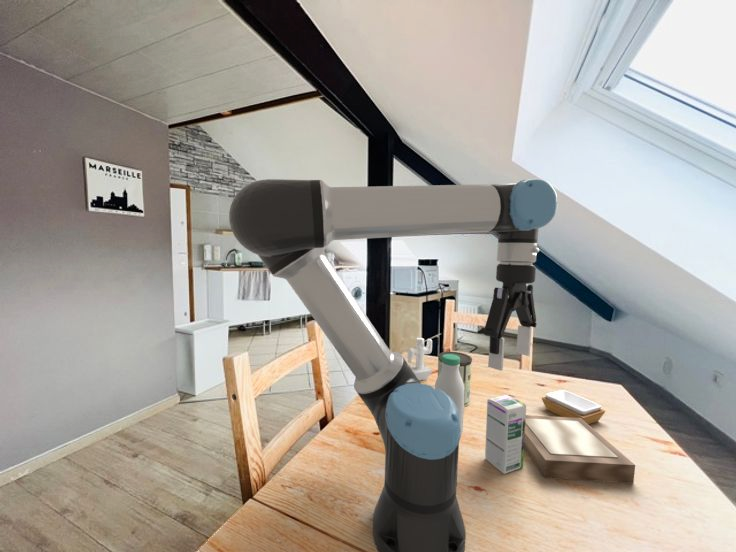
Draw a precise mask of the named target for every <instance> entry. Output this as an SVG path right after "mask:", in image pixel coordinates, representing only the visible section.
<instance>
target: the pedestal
mask: <svg viewBox="0 0 736 552" xmlns="http://www.w3.org/2000/svg"><path fill="white" fill-rule="evenodd" d="M524 452H525V453H527V455H528V457H529V458H530V460H531V461H532V462H533V464H534V465H535V467H536V468H537V469H538V471H539V473H540V474H541V476H542V477H543V478H544V479H555V480H556V479H558V480H573V481H588V482H589V481H590V482H591V481H592V482H603V483H604V482H605V483H607V482H608V483H624V484H634V482H635V473H636V471H635V469H636V464H634V462H633V461H632V460H631V459H629V458H628V457H627V456H625V455H624V454H623V453H622V452H621V451H619V450H618V449H617V448H616V447H615V446H614V445H613V444H612V443H610V441H608V440H607V439H606V438H605V437H604V436H603V435H601V434H600V433H599V432H598V431H596V430H595V429H594V428H593V427H592V426H591V425H590V424H587V423H586V422H585V421H584V420H583V419H581V418H571V417H561V416H547V415H529V414H528V415H526V420H525V440H524Z"/></svg>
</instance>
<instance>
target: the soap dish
mask: <svg viewBox="0 0 736 552" xmlns="http://www.w3.org/2000/svg"><path fill="white" fill-rule="evenodd" d="M541 401H542V402H543V406H544V408H545V409H546V410H547V411H549V412H551V413H553V414H555V415H557V416H558V417H571V418H581V419H583V420H584V421H585V422H586V423H587V424H588V425H590V424H594V423H598V422H599V421H600V420H601V419H602V417H603V416H604V414H605V413H606V410H604V409H602V405H601V404H598V403H597V402H595V401H592V400H590V399H587V398H586V397H582V396H581V395H577V394H575V393H573V392H570V391H568V390H565V389H561V390H557V391H556V390H555V391H551V392H547V393H545V396H542V397H541Z"/></svg>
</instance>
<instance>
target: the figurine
mask: <svg viewBox="0 0 736 552" xmlns="http://www.w3.org/2000/svg"><path fill="white" fill-rule="evenodd" d="M415 340H416V342H415V343H416V344H415V345H416V346H415V347H410V348H408V349H407V363H409V364H410V365H409V364H408V365H409V367H410V368H411V370H412V371H413V373H414V374H415V376H416V377H417V378H418V380H419V381H427V380H428V379H429V377H430V376H431V375H432V373H433V372H434V370H433V369H431V368H430V367H428V366H427V365H426V364H424V355H430V354H431V353H432V351H433V340H432V339H431V338H427V340H426V346H425V338H423V337H416V339H415ZM414 356H415V364H412V363H413V359H414ZM426 379H427V380H426Z"/></svg>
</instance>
